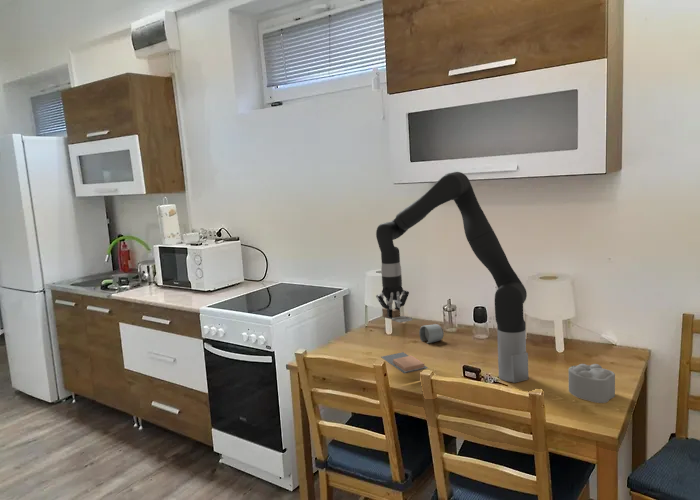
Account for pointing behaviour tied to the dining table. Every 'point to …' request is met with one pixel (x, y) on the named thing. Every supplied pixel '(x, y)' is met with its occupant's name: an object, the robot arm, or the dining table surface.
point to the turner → (396, 316)
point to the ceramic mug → (431, 333)
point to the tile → (408, 363)
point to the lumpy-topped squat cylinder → (592, 383)
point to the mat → (394, 356)
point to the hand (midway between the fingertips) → (394, 317)
